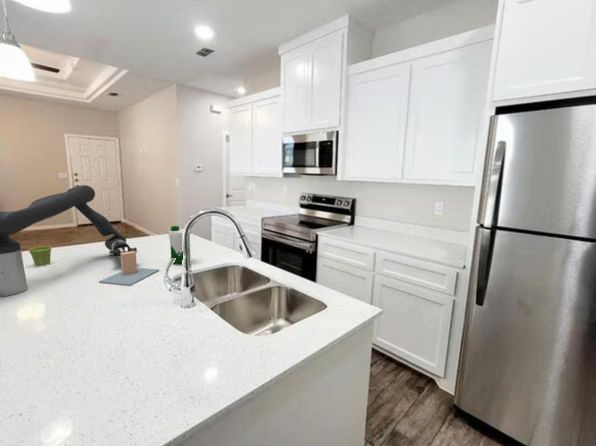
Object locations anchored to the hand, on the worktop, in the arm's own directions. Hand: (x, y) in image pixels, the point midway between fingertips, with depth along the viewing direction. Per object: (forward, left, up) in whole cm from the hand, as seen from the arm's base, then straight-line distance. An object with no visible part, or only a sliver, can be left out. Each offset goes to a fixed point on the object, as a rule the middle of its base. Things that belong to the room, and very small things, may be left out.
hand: (126, 255), depth 147 cm
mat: (-6, -6, -8) cm, 12 cm away
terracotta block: (-3, -3, -7) cm, 9 cm away
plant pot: (-2, +50, -8) cm, 50 cm away
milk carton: (+18, -17, -8) cm, 26 cm away
